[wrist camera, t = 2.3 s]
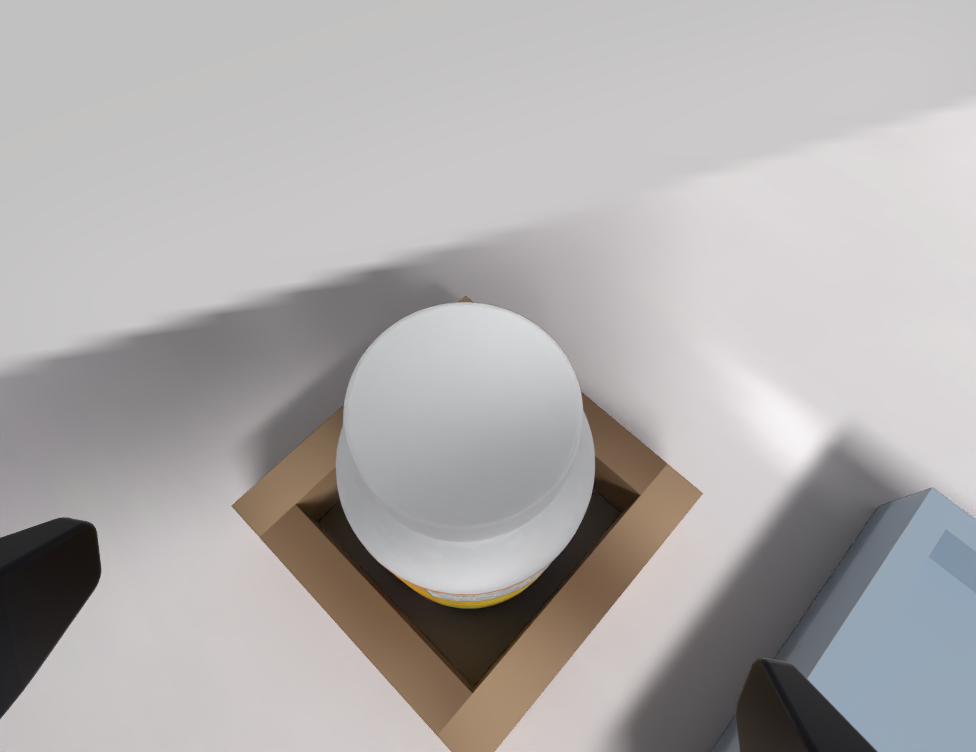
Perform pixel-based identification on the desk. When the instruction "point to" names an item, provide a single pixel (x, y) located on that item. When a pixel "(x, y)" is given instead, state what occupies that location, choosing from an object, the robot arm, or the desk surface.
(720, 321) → the desk surface
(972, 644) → the tray
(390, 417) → the supplement bottle
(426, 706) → the frame
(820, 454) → the desk surface
